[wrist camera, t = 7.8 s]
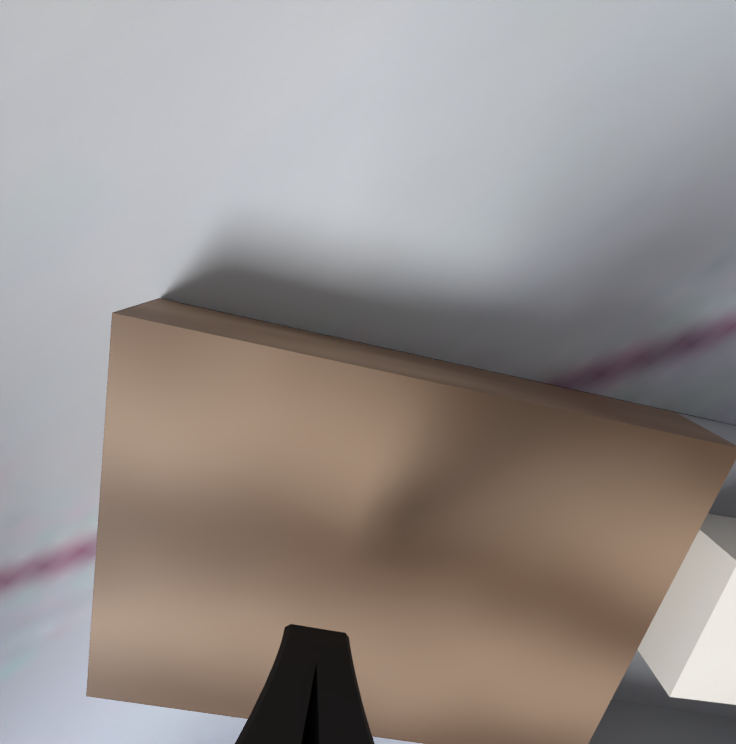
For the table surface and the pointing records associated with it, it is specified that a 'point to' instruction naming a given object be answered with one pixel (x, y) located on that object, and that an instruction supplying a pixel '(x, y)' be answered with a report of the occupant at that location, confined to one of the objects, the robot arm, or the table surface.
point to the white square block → (699, 620)
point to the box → (645, 693)
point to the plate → (380, 527)
